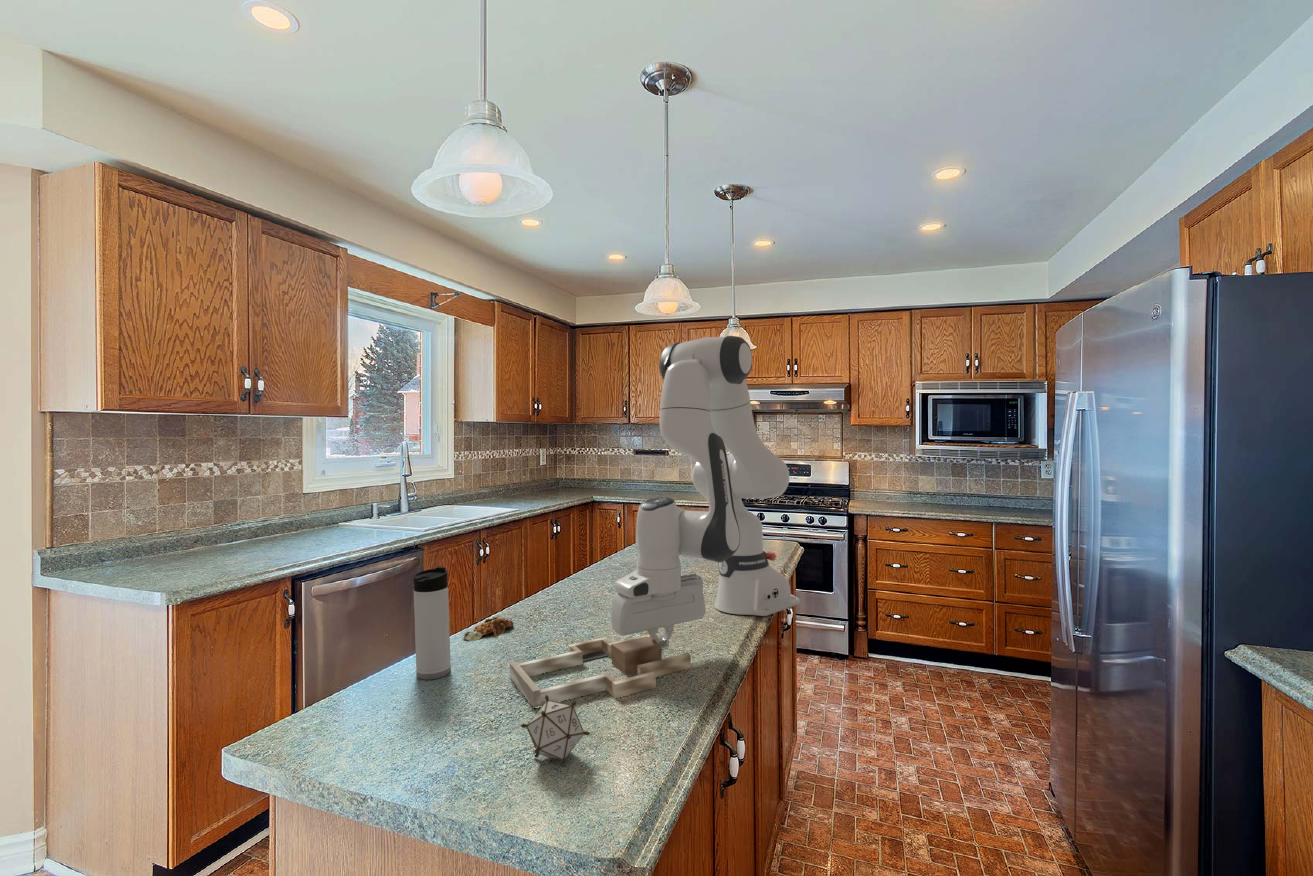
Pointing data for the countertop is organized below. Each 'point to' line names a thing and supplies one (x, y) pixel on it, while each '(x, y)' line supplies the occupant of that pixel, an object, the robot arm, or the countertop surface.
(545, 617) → the countertop surface
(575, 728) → the game die
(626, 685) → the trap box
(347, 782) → the countertop surface
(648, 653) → the walnut block
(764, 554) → the robot arm
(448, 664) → the travel mug
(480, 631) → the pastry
